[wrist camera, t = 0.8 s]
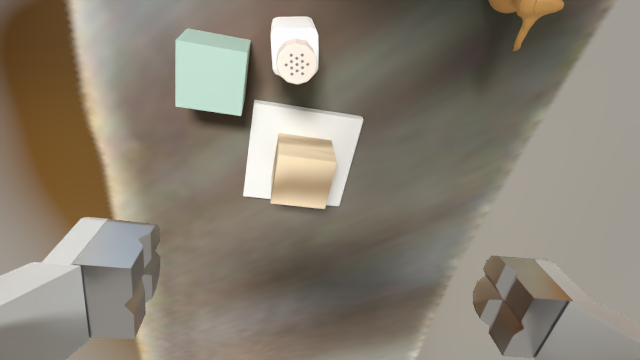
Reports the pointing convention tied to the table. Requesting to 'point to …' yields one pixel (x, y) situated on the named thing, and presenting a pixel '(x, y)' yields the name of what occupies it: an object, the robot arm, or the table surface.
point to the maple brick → (302, 171)
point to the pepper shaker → (294, 48)
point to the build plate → (300, 123)
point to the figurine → (526, 12)
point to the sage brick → (211, 71)
